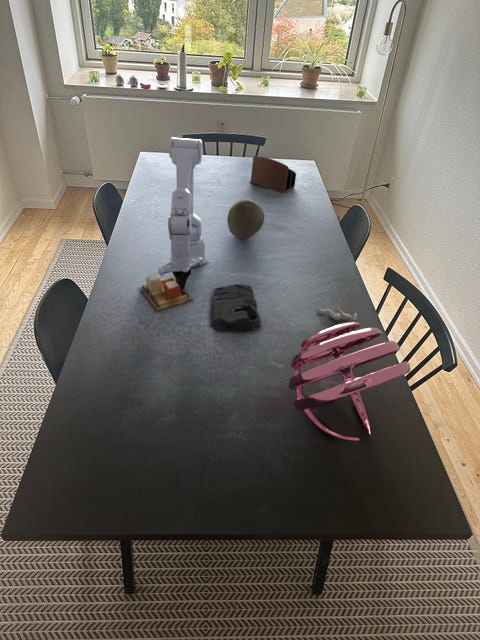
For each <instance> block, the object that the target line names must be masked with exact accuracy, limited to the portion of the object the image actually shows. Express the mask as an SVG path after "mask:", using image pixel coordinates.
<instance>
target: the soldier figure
mask: <svg viewBox="0 0 480 640" xmlns="http://www.w3.org/2000/svg"><path fill="white" fill-rule="evenodd" d="M336 309H337V310H338V312H337V313H335V312H334V311H332V310H331V309H329V308H327V309H322V308H321V307H320V305H319V306H318V307H317V313H319V315H328V316H329V317H330V318H331V319H332V320H334V321H341V320H343V321H350V320H352V321H351V322H357V320H358V313H356V312H355V314H349V313H344V311H343V310H341V308H340V306H339V305H336Z"/></svg>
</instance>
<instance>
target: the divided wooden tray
mask: <svg viewBox="0 0 480 640" xmlns="http://www.w3.org/2000/svg"><path fill="white" fill-rule="evenodd" d="M161 279H162V287H163V289H162V290H159V291H155V292H152V293H151V292H150V291H149V290H148V288H147V286H146V283H143V284H142V285H141V287H140V290H141V291H142V293H143V294H144V295H145V297H146V298H147V299H148V301H149V302H150V303H151V304H152V306H153V307H154V309H155V310H156V311H157V312H158V311H161V310H164V309H168V308H171V307H174V306H178V305H181V304H184V303H187V302H190V301H191V300H192V299H191V297H190V294H189V293H188V292H187V291H186V289H185V288H184V289H182V290H181V289H180V290H181V296H180V297H176V298H173V299H170V300H168V299H167V298H166V296H165V295H164V283H167V282H171V281H174V280H175V281H176V282H177V280H176V278H175V276H174V275H172V276H169V277H165V278H161Z"/></svg>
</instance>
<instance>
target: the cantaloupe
mask: <svg viewBox="0 0 480 640" xmlns="http://www.w3.org/2000/svg"><path fill="white" fill-rule="evenodd" d="M226 220H227V221H226V223H227V227H228V230H229V232H230V234H231V235H233V236H234V237H235V238H237V239H249V238H251V237H253V236H255V235H256V234H257V233H258V232H259V231H260V230H261V229H262V227H263V225H264V222H265V212H264V210H263V208H262V206H261V205H260V204H259V203H258V202H256V201H254V200H252V199H249V198H243V199H239V200H238V201H236V202H234V203H233V205H232V206H231V207H230V208H229V210H228V213H227V218H226Z"/></svg>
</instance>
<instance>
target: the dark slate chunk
mask: <svg viewBox="0 0 480 640" xmlns="http://www.w3.org/2000/svg"><path fill="white" fill-rule="evenodd" d="M211 306H212V307H211V319H210V321H211V322H210V323H211V326H212V327H215V328H216V329H215V330H216V331H221V332H227V331H229V332H230V331H231V332H247V331H252V330H255V329H260V328H261V327H262V320H261V318H260V317H261V316H260V314H259V310H258V304H257V300H256V297H255V294H254V289H253V286H251V284H249V285H248V284H239V283H235V284H228V285H224V286H219V287H216V288H214V291H213V297H212V305H211ZM251 319H254V320H251Z"/></svg>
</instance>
